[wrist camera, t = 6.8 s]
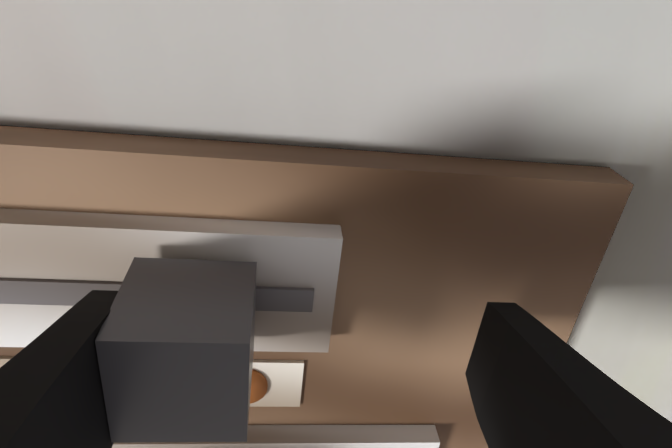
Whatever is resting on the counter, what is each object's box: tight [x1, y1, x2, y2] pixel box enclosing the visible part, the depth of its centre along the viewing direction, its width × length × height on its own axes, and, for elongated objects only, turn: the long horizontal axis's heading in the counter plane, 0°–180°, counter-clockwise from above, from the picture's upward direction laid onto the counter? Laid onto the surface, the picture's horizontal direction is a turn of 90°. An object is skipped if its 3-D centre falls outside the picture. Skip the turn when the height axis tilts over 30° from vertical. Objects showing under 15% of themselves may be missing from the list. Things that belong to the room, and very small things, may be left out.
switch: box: [95, 257, 257, 443], centre depth 10 cm, size 2×2×2 cm
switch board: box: [0, 126, 634, 448], centre depth 14 cm, size 13×18×2 cm
